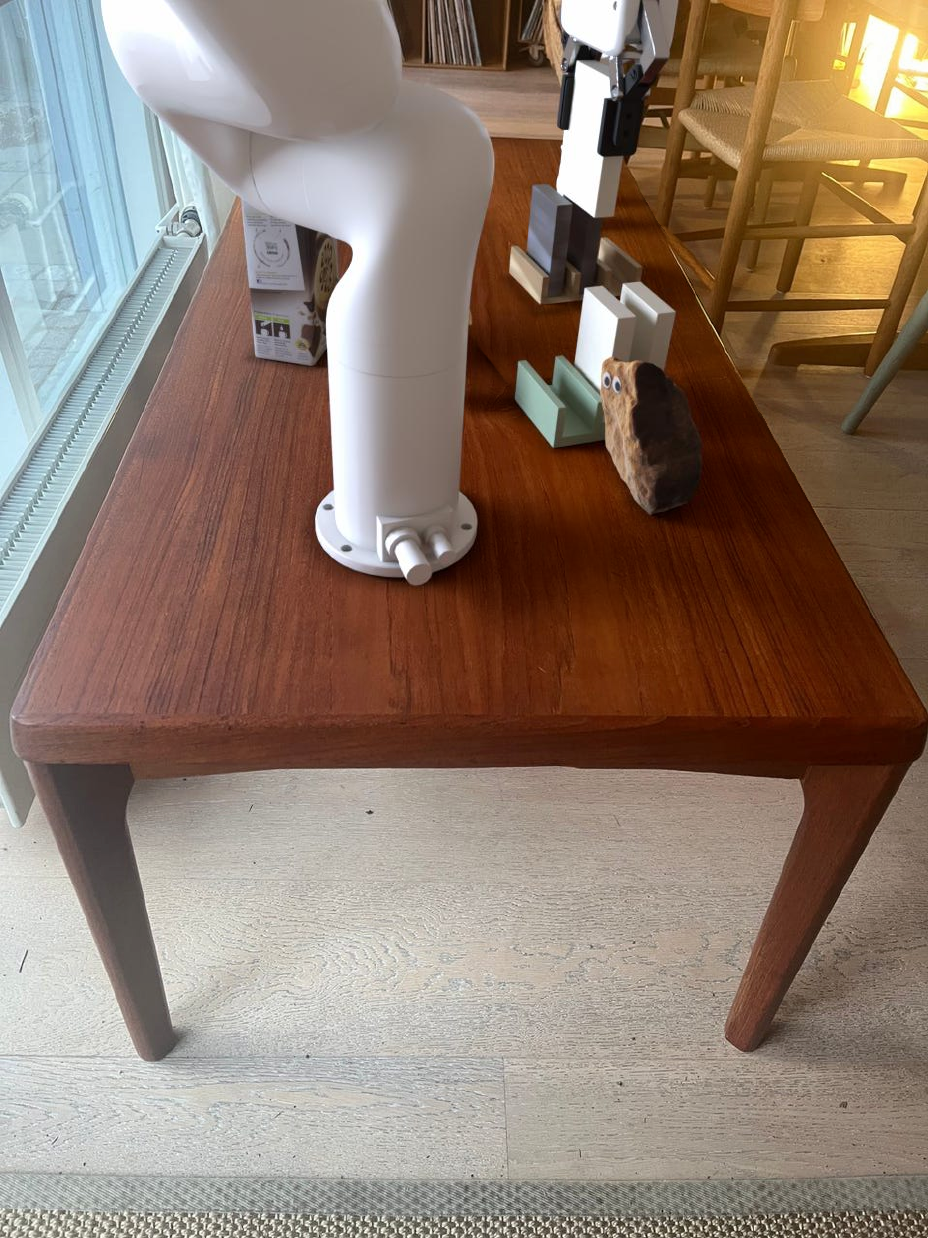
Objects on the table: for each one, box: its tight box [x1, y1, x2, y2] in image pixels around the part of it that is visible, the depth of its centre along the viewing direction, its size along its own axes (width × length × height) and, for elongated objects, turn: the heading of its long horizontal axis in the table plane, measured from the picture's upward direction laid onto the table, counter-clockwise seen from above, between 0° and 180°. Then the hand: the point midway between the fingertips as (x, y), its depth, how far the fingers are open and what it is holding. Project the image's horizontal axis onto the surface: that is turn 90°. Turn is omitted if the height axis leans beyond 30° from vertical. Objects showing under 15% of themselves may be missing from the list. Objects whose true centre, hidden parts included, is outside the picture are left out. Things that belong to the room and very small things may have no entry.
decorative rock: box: [600, 357, 703, 515], centre depth 80 cm, size 12×6×11 cm, turn 17°
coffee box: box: [240, 198, 340, 367], centre depth 94 cm, size 9×6×16 cm
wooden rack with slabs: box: [508, 183, 643, 305], centre depth 109 cm, size 12×9×11 cm
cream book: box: [561, 60, 626, 218], centre depth 78 cm, size 2×6×10 cm, turn 21°
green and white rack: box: [514, 281, 677, 449], centre depth 88 cm, size 12×9×11 cm
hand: (595, 139), depth 78 cm, fingers closed on cream book, 6 cm apart
